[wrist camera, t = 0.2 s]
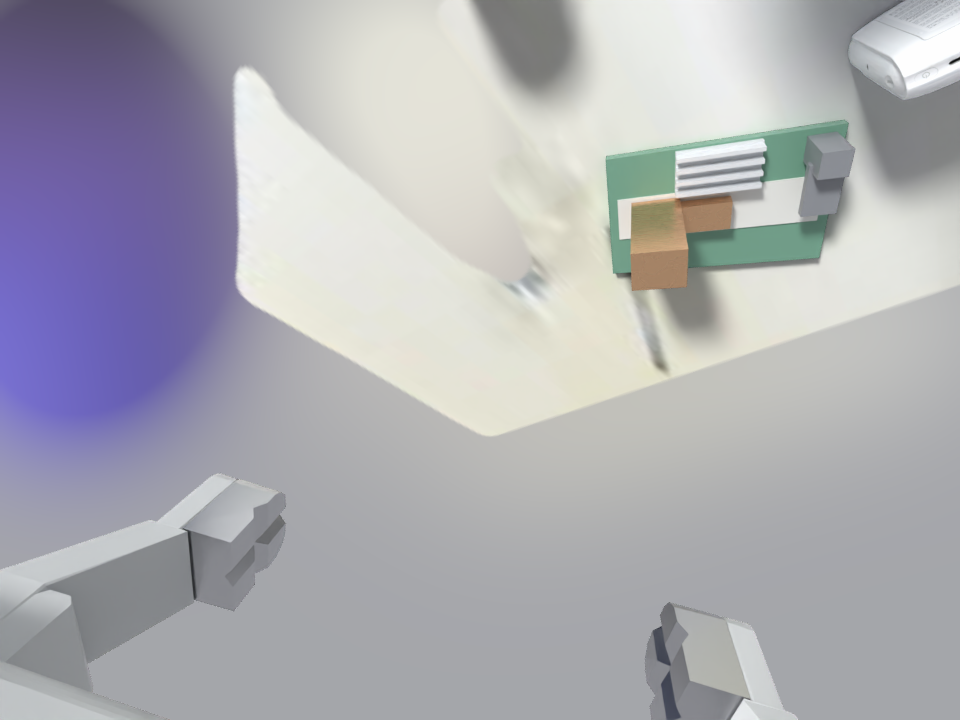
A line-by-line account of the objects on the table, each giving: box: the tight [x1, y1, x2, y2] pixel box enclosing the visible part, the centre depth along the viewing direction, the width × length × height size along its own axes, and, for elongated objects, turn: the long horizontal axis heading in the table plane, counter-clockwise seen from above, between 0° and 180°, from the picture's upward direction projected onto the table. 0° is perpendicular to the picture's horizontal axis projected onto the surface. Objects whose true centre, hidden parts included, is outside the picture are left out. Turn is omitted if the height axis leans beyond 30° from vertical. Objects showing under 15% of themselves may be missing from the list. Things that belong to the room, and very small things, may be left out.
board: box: [606, 120, 855, 274], centre depth 51 cm, size 22×14×6 cm, turn 102°
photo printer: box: [848, 0, 960, 100], centre depth 36 cm, size 10×4×12 cm, turn 127°
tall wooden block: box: [630, 196, 733, 291], centre depth 49 cm, size 10×4×12 cm, turn 102°
